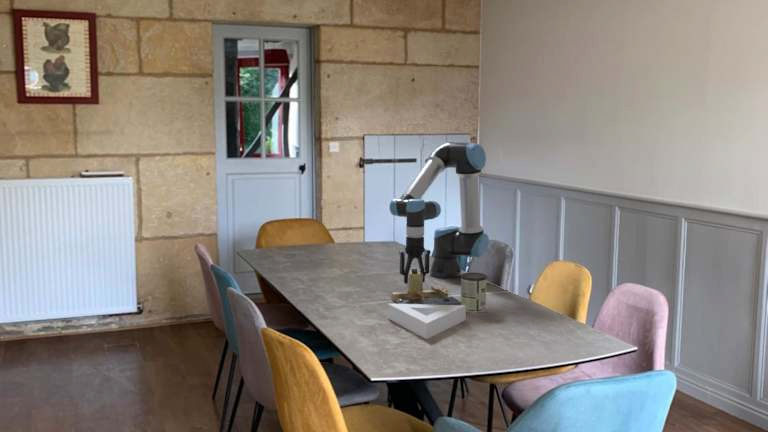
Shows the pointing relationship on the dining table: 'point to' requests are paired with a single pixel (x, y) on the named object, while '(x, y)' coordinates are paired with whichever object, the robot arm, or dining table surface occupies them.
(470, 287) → the coffee can
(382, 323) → the dining table surface
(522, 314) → the dining table surface
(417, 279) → the block
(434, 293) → the bar
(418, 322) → the triangle block
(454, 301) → the bolt plate
